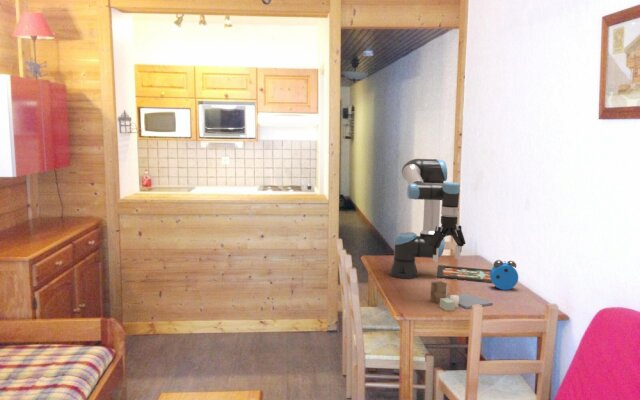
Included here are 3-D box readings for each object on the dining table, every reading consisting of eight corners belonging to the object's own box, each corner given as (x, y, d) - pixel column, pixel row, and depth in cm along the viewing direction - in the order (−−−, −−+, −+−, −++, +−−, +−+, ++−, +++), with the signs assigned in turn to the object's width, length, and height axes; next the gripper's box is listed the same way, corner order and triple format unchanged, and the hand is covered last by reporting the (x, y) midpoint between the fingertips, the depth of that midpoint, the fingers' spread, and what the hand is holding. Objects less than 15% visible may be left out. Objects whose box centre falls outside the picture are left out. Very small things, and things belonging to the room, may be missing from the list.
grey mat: (443, 298, 257) (443, 296, 257) (468, 295, 264) (468, 293, 264) (466, 309, 243) (466, 306, 243) (492, 304, 250) (492, 302, 250)
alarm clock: (514, 287, 280) (516, 259, 278) (517, 291, 274) (520, 262, 272) (488, 286, 281) (490, 258, 279) (491, 289, 275) (493, 261, 273)
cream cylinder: (447, 305, 247) (448, 295, 246) (454, 304, 249) (455, 294, 248) (453, 308, 243) (454, 297, 243) (460, 307, 245) (460, 296, 245)
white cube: (435, 294, 263) (436, 287, 262) (440, 293, 266) (440, 285, 265) (442, 297, 260) (442, 289, 260) (447, 295, 263) (447, 287, 262)
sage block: (439, 306, 245) (440, 298, 245) (447, 306, 246) (447, 297, 246) (446, 311, 239) (447, 302, 239) (454, 310, 241) (454, 302, 240)
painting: (436, 268, 320) (436, 264, 320) (497, 273, 313) (497, 269, 313) (436, 279, 293) (437, 275, 293) (503, 285, 286) (504, 280, 286)
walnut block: (430, 300, 254) (431, 281, 253) (438, 299, 256) (439, 280, 255) (437, 303, 250) (438, 284, 249) (445, 302, 252) (446, 283, 251)
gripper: (433, 218, 239) (431, 264, 242) (475, 215, 251) (471, 260, 254) (423, 215, 246) (420, 260, 248) (463, 213, 258) (460, 256, 260)
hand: (446, 260), depth 251 cm, fingers open, 13 cm apart
